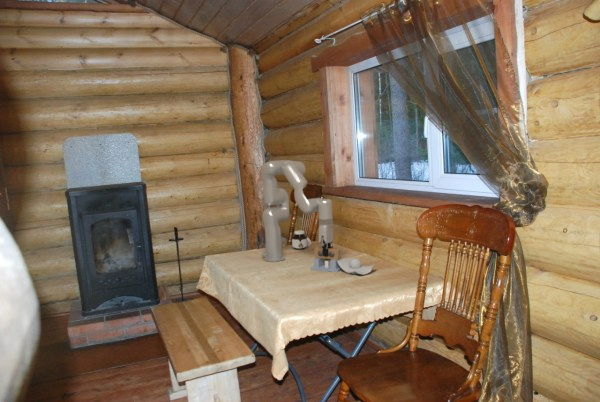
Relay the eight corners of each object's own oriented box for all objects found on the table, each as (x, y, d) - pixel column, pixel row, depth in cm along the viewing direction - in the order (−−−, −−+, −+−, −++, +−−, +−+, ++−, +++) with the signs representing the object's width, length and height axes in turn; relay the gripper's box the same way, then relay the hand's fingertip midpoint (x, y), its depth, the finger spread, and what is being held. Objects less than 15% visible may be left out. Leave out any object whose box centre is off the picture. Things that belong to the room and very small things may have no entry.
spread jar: (291, 250, 312) (290, 232, 310) (294, 246, 323) (293, 229, 322) (309, 249, 310) (308, 232, 308) (312, 246, 321) (311, 229, 319)
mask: (356, 277, 239) (379, 275, 247) (357, 263, 238) (379, 261, 246) (333, 269, 256) (355, 267, 264) (334, 255, 256) (356, 254, 263)
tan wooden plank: (314, 257, 260) (314, 248, 260) (317, 256, 263) (317, 247, 263) (338, 259, 254) (337, 250, 253) (340, 258, 257) (340, 249, 256)
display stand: (310, 269, 259) (310, 259, 258) (318, 265, 268) (318, 255, 267) (337, 272, 251) (337, 261, 251) (344, 267, 260) (344, 256, 259)
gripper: (325, 219, 266) (327, 251, 268) (312, 224, 251) (314, 258, 253) (338, 219, 262) (339, 252, 264) (325, 224, 248) (327, 259, 250)
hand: (327, 255), depth 259 cm, fingers closed on tan wooden plank, 3 cm apart
